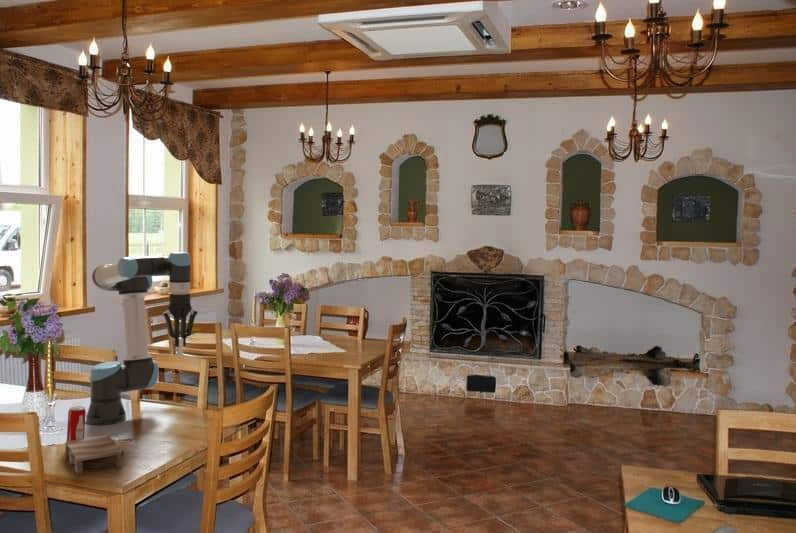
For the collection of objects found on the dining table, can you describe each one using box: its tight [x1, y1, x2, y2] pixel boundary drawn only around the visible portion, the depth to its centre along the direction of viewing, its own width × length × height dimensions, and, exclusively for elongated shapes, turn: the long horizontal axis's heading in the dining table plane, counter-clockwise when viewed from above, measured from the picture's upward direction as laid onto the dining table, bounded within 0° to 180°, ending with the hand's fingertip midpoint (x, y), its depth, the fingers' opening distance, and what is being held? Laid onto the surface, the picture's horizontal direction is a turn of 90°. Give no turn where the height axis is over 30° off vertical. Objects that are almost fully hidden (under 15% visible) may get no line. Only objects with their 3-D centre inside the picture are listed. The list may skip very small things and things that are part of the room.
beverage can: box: [66, 405, 87, 441], centre depth 250 cm, size 6×6×15 cm
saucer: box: [83, 450, 125, 469], centre depth 237 cm, size 15×15×3 cm
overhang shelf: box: [65, 434, 123, 477], centre depth 236 cm, size 20×14×6 cm
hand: (180, 355), depth 261 cm, fingers closed
